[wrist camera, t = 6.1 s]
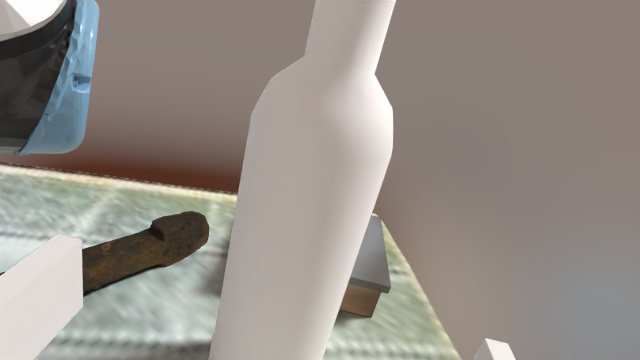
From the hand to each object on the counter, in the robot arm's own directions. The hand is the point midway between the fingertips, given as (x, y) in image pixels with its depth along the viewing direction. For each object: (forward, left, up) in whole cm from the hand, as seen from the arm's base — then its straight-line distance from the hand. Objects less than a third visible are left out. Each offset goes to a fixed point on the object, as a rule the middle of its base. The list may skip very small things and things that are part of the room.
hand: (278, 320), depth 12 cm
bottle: (0, +10, -16) cm, 19 cm away
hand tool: (-15, +17, -17) cm, 28 cm away
